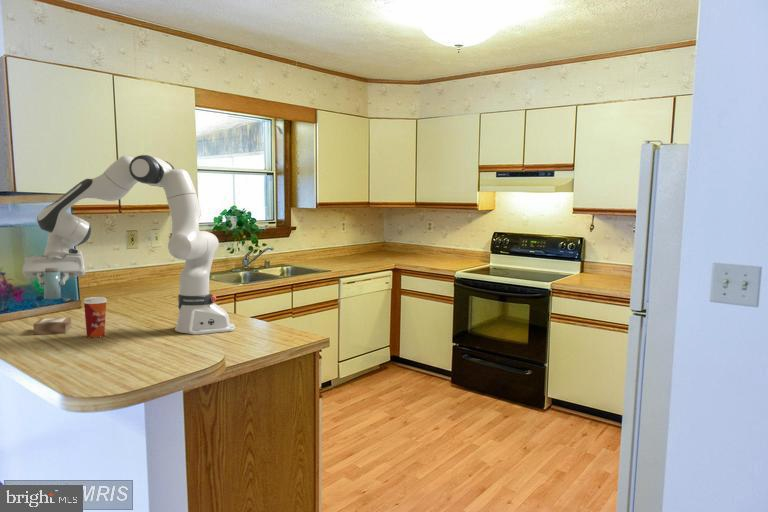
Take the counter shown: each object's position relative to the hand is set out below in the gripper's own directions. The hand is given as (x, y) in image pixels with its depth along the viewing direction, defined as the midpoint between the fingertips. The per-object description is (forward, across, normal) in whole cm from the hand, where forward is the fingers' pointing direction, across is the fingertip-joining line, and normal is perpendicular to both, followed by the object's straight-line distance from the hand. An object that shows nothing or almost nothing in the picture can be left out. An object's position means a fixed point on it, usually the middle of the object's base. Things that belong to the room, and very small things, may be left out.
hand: (51, 284), depth 192 cm
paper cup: (+21, +16, +5) cm, 27 cm away
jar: (+3, 0, +4) cm, 5 cm away
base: (+12, 0, +13) cm, 18 cm away
